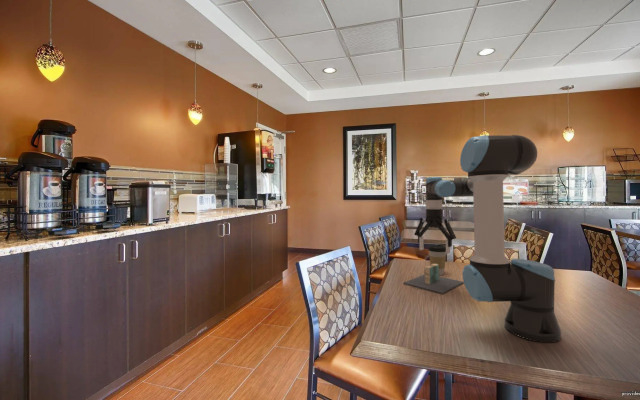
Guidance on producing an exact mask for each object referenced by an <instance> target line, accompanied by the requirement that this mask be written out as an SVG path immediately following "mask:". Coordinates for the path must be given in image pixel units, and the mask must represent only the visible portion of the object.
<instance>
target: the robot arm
mask: <svg viewBox="0 0 640 400" xmlns="http://www.w3.org/2000/svg"><path fill="white" fill-rule="evenodd" d="M537 159H538V149H537V146H536V144H535V143H534V142H533V141H532V140H531V139H530V138H528V137H526V136H523V135H521V134H519V135H518V134H511V135H499V134H497V135H494V134H493V135H492V134H491V135H487V134H486V135H485V134H484V135H478V136H472V137H470V138H469V139H468V140H466V142H465V143H464V145H463V147H462V149H461V153H460V158H459V163H460V168H461V170H462V171H463V172H465V173H467V179H455V180H454V179H453V180H451V179H450V180H449V179H448V180H447V179H443V178H442V177H441V176H431V177H426V178H425V208H426V209H425V217H426V218H425V217H420V219H419V223H418V225H417V227H416V229H415V232H414V233H413V234H414V236H416V237H417V243H418V244H419V251H422V250H425V249H424V247H425V246H424V244H425V243H424V241H425V239H424V238H425V237H424V236H423V235H424V234H426V232H427V231H428V229H430V228H434V229H437V228H438V229H439V230H440V231H441V233H442V234H443V236H444V237H445V238H446V240H445V247H446V255H450V254H451V247H452V246H453V240H455V239H457V236H456V234H455V232H454V230H453V227H452V225H451V224H450V219H449V218H445V219H443V198H449V197H450V198H453V197H454V198H455V197H456V198H457V197H463V198H465V197H473V232H474V233H473V238H474V239H473V241H474V245H473V246H474V254H473V255H472V256H470V257H469V264H467V265H465V266H464V267H463V270H462V282H464V283H463V284H464V287H465V289H466V291H467V293H468V294H469V296H470V297H471V298H472V299H473V300H475V301H477V302H485V303H492V302H493V303H494V302H495V303H496V302H510V306H509V308H508V309H507V312H506V315H505V317H504V328H505V327H506V328H505V330H507V331H508V330H509V331H510V332H509V331H508V332H509V333H511V332H512V333H514V334H516V335H519V336H521V337H524V338H528V339H531V340H530V341H532V340H535V341H534V342H537V341H542V342H541V343H546V342H551V343H555V342H554V341H557V342H559V341H560V340H561V339H562V330H561V327H560V324H559V321H558V319H557V316H556V314H555V284H556V283H555V282H556V277H555V269H554V267H552V266H550V265H549V264H546V263H542V262H540V261H535V260H529V259H524V258H512V259H511V260H510V259H508V257H506V256H505V254H506V253H505V225H504V224H505V220H504V219H505V218H504V217H505V213H504V181H505V180H506V179H507V178H509V177H510V176H515V175H517V176H518V175H520V174H522V173H524V172H526V171H528V170H529V169H530V168H532V167H533V165H534V164H535V163H536V161H537ZM425 223H426V224H425ZM424 224H425V225H424ZM443 224H444V225H443ZM423 226H424V227H423ZM444 226H445V227H444ZM512 333H511V334H512ZM514 334H513V335H514ZM516 335H515V336H516ZM519 336H518V337H519ZM521 337H520V338H521ZM524 338H523V339H524ZM560 338H561V339H560ZM528 339H527V340H528ZM559 339H560V340H559ZM558 340H559V341H558Z"/></svg>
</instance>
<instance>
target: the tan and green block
mask: <svg viewBox="0 0 640 400" xmlns="http://www.w3.org/2000/svg"><path fill="white" fill-rule="evenodd" d="M424 274H425V283H427V284H431V283H433V282H435V281H438V280H439V277H440V275H439V264H431V265H430V264H429V265H427V266H424Z"/></svg>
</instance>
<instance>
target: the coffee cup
mask: <svg viewBox="0 0 640 400" xmlns="http://www.w3.org/2000/svg"><path fill="white" fill-rule="evenodd" d="M427 249H428V253H429V255H428V258H429V265H431V264H439V276H443V275H444V274H445V268H446V260H447V254H446V245H445V246H444V245H438V244H437V245H436V244H435V245H429V246H428V248H427Z"/></svg>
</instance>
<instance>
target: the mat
mask: <svg viewBox="0 0 640 400" xmlns="http://www.w3.org/2000/svg"><path fill="white" fill-rule="evenodd" d="M463 284H464V281H463V280H462V281H461V280H458V279H452V278H447V277H444V276H443V277H442V276H439V280H438V281H435V282H433V283H431V284H427V283H425V273H424V274H422V275H419V276H417V277H414V278H412V279H409V280H407V281H403V285H405V286H409V287H413V288H417V289H421V290H424V291H429V292H432V293H436V294H440V295H444V294H447V293H449V292H451V291H452V290H453V289H456V288H457V287H460V286H462V285H463Z"/></svg>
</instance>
